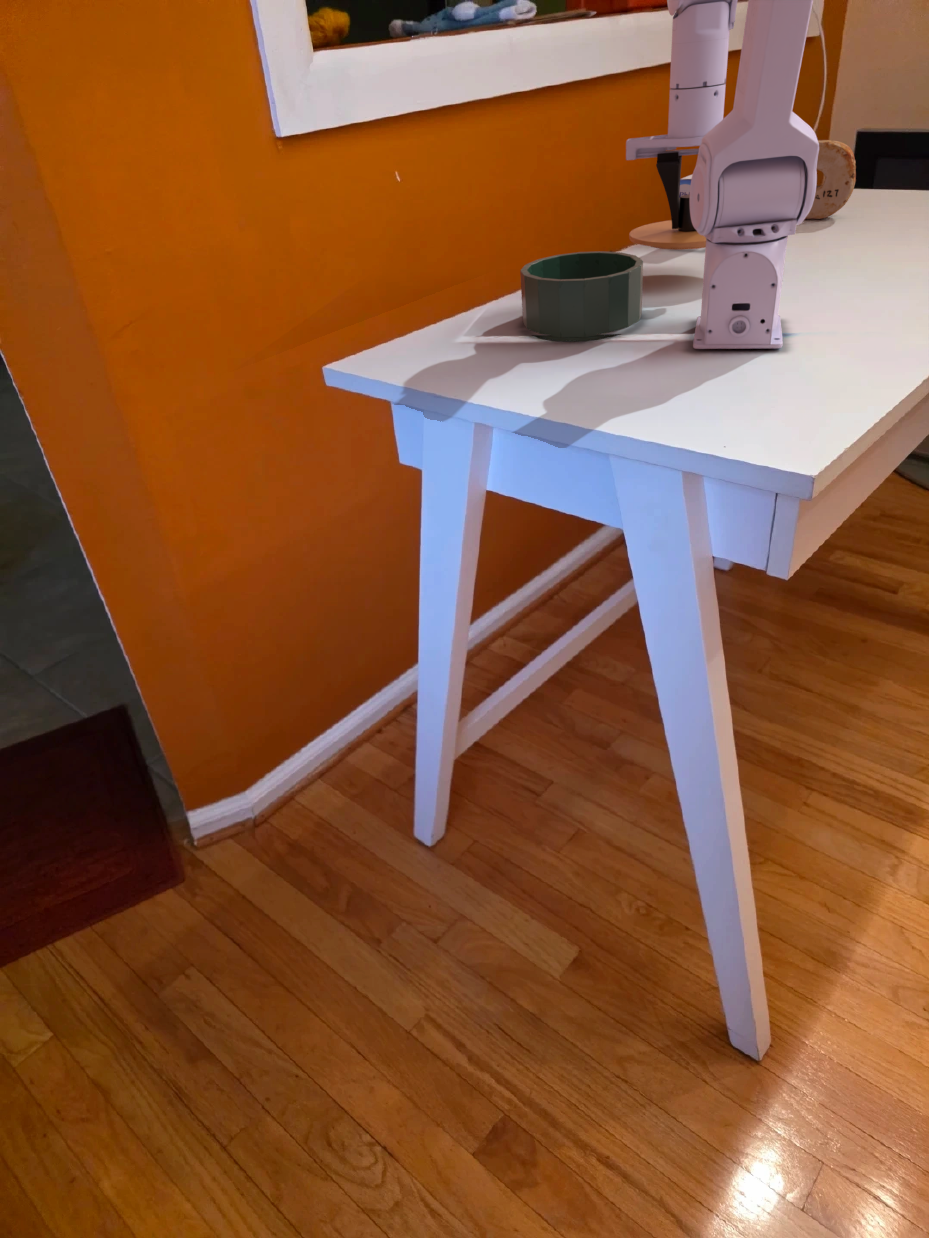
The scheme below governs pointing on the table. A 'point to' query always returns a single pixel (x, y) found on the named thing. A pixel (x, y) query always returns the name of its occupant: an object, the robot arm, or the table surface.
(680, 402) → the table surface
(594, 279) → the tin
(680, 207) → the lid
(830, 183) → the stone disc
